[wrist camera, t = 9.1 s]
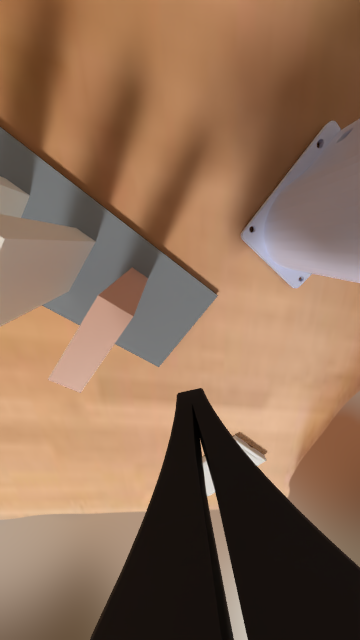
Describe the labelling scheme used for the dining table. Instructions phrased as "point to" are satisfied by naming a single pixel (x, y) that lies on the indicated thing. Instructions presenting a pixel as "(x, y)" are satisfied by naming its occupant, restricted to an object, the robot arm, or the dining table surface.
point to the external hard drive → (251, 452)
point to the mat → (108, 258)
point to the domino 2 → (99, 331)
